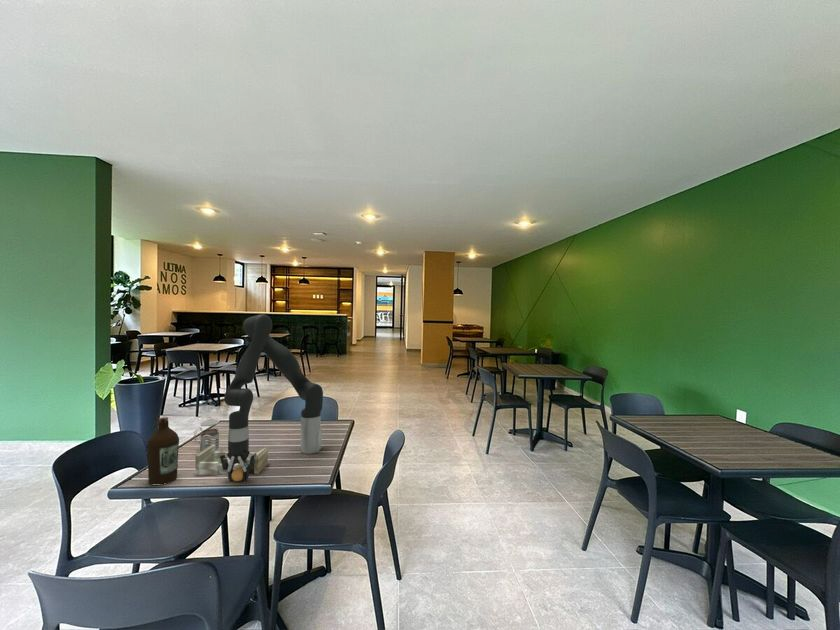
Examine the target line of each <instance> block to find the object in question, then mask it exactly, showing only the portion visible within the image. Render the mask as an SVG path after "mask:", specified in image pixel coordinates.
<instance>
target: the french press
mask: <svg viewBox="0 0 840 630" xmlns="http://www.w3.org/2000/svg"><path fill="white" fill-rule="evenodd" d="M207 403H209V404H211V403H213V400H212V399H208V400H207ZM219 424H220V421H219V419H215V418H209V419H206V420H204V421H202V422H200V426H201V427H200V426H199V427H198V428H197V429H196V430H194V432H193V439H194V441H195V442H196V443H198V444H199V451H198V452H197V455H198V454H199V453H201V452H202V451H204V450H205V449H207V448H208V447H210V446H211V445H215V451H216V452H221V450H222V448H221V447H220V432H219V429H217V428H209V429H208V428H207V429H204V430H203V428H202V427H211V426H216V425H219ZM199 430H200V431H201V432H200V433H201V434H200V441H198V440H197V439H196V437H197V436H196V435H197V434H198V431H199Z"/></svg>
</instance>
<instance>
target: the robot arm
mask: <svg viewBox="0 0 840 630" xmlns="http://www.w3.org/2000/svg"><path fill="white" fill-rule="evenodd" d="M242 329H243V331H244V333H245V334H246V336H248V338H249V339H251V340H250V343H249V345H248V346H247V348H246V350H245V351H244V352H243V354H242V355H241V358H240V360H239V362H238V366H237V367H236V372H235V374H234V378H233V379H232V381H231V382H230V384H228V385H229V386H228V387H227V388H226V390H225V393H224V396H223V397H224V398H223V400H224V403H225V405H227V406H229V407H230V406H231V407H239V410H236V411H232V412H231V413H230V414H229V416H228V434H227V450H228V451H227V452H228V453H227V454H225V453H224V454H222V455H221V456H220V459H221V463H222V468H223V470H227V471H228V474H227V479H228V480H229V482H230V481H234V480H233V479H232V477H231V475H232V472H233V471H234V470H233V467H234V465H235V464H236V463H238V464H241V467H242V469H243V470H244V472H243V479H242V481H244V482H245V481H246V480H248V479H249V473H250V471H251V470H252V469H253V468H254V463H255V459H256V456H257V454H256V453H255V452H254V453H255V454H253V453H250V450H249V447H250V429H249V414H250V410H251V409H252V408H251V407H252V404H253V400H254V394H253V391H252V390H251V389H250V388H243V386H245V385H247V384H249V385H250V384H251V383H252V382H254V379H255V375H256V371H257V367H258V363H259V360H260V357H261V355H262V352H263V353H264V354H265V356H267V358H268V359H269V360H270V361H271V362H272V364H273V365H274V366H275V367H276V369H278V371H279V372H280V373H281V374H282V375H283V376H284V378H285V380H286V379H287V381H288V382H289V383H290V384H291V385H292V387H293V389H294V390H295V392H296V393H297V396H298V397H299V398H300V399H301V400H303V401H304V402H305V405H304V408H303V409H302V410H301V411H300V452H301V453H302V454H306V455H309V454H310V455H311V454H315V453H318V454H319V452H320V451H321V450H322V434H323V433H322V431H323V430H322V428H321V420H322V419H321V415H322V414H321V413H322V409H323V403H324V401H323V400H324V390H323V387H322V385H320V384H318V383H315V382H312V381H310V379H308V378H307V377H306V375H304V373H303V371H302V368H301V366H300V363H299V361H298V359H297V358H296V356H295V355H294V354H293V353H292V351H291V350H290V349H289V348H288V347H286V346H285V345H283V344H282V343H279V342H278V341H277V340H275V339H274V338H273V337H272V336H271V335H270V334H271V332H272V329H273V321H272V319H271V317H270V316H269V315H267V314H257V315H253V316H250V317H249V316H248V317H246V318H245V319H244V321H243V322H242ZM248 457H249V460H250V463H248V460H247V458H248ZM227 458H229V459H230V463H229V464H228V460H227Z"/></svg>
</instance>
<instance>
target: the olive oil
mask: <svg viewBox="0 0 840 630" xmlns="http://www.w3.org/2000/svg"><path fill="white" fill-rule="evenodd" d="M157 423H158V425H157V426H158V427H157V429H156V430H155V431H154V432H153V433H152V434H151V435H150V436H149V437H148V440H147V442H146V452H147V454H146V456H147V469H148V470H147V473H148V478H147V479H148V484H149V485H150V484H163V485H165V484H164V483H167V484H169V483H168V482H170V483H172V482H174V481H175V480H177V479H178V468H179V463H178V461H179V447H180V437H179V435H178V433H177V432H176V431H174V430H173V429H172V428H170V426H169V417H167V416H165V417H160V418H158V422H157ZM173 480H174V481H173ZM171 481H172V482H171Z"/></svg>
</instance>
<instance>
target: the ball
mask: <svg viewBox="0 0 840 630" xmlns="http://www.w3.org/2000/svg"><path fill="white" fill-rule="evenodd" d="M243 472H244V470H243V468H237V469H235V470H234V471H233V472H232V475H231V477H232V479H233V480H232V481H234V482H241V481H243Z"/></svg>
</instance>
